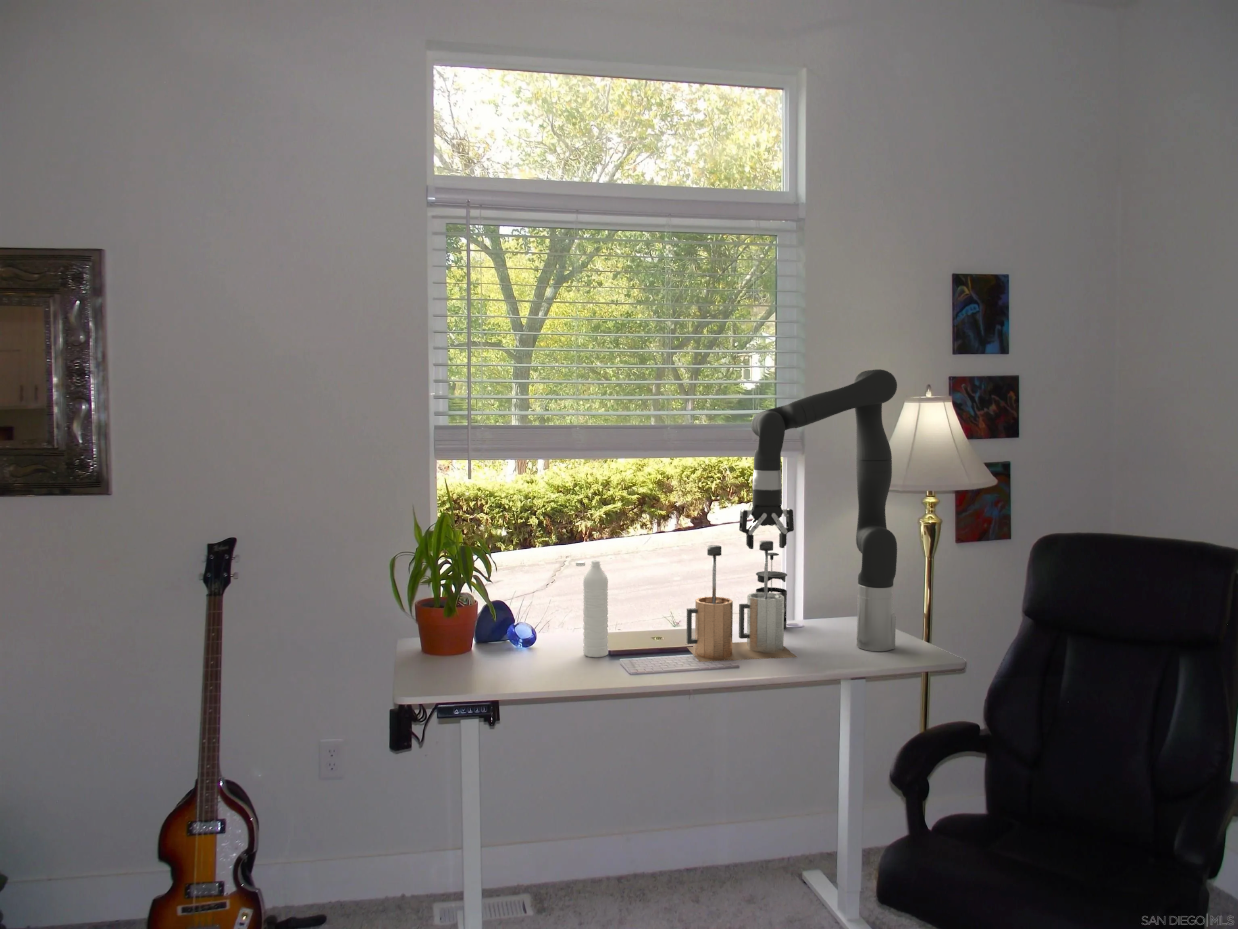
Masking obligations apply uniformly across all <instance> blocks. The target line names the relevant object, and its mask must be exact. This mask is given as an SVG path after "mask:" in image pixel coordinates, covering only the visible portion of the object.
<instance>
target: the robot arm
mask: <svg viewBox="0 0 1238 929" xmlns="http://www.w3.org/2000/svg"><path fill="white" fill-rule="evenodd" d="M897 389H898V382H897V379H896V377H895V376H894V375H893V373H892V372H890V371H888V370H885V369H871V370H863V371H861V372H860V373H859V374H857V375H856V377H855V379H854V380H853V382H852V383H850V384H848V385H845V386H843V387H839V388H837V389H832V390H828V391H823V392H819V393H816V394H812V395H809V396H806V397H802V398H801V399H798V400H795V401H792V402H790V403H788V404H785V405H782V406H781V405H780V406H776V407H773V408H772V407H771V408H769V409H767V410H766V409H765V410H762V411H760V412H758V413H756V415H754V417H753V418H752V420H751V423H750V427H751V431H752V432H753V434H754V435H756V436H757V437H758V444H757V446H758V447H757V448H756V449H755V450H754V456H753V474H752V507H751V509H744V508H741V510H740V513H739V527H738V528H739V529H738V530H739V532H741V533H744V534H746V538H745V540H746V542H745V545H746V547H748V549H750V550H754V545H755V544H754V533H755V531H756V530H757V529H758V528H759V527H760V526H762V527H766V526H769V527H771V526H772V527H773V526H775V527H776V529H778V531H779V532H780V533H779V535H778V536H779V538H778V539H779V540H778V546H779V548H780V549H785V547H786V546H787V544H788V543H787V540H788V538H787V536H788V534H789V533H791V532H792V533H793V532H794V530H795V527H794V526H795V524H794V510H793V509H792V508H788V507H787V508H786V509H783V508H782V486H783V482H782V480H783V479H782V478H783V477H782V471H781V470H782V466H781V465H782V456H781V455H782V449H783V445H784V439H785V434H786V433H785V431H787V430H791V429H797V428H798V429H799V428H802V427H805V426H808V425H812V424H814V423H816V422H820V421H822V420H824V419H828V418H830V417H832V416H835V415H838V414H841V413H843V412H847V411H850V410H853V409H854V412H855V421H856V422H855V424H856V427H855V428H856V429H855V430H856V432H855V433H856V437H855V438H856V439H855V440H856V444H855V445H856V454H855V455H856V456H855V457H856V460H855V462H856V485H857V487H856V488H857V489H856V491H857V502H858V508H857V509H858V510H857V525H856V533H855V544H856V547H857V549H858V551H859V552H860V554H861V570H860V572H859V573H858V575H857V617H856V618H857V621H856V622H857V624H856V628H857V630H856V647H857V648H859V649H861V650H865V651H869V652H870V651H871V652H888V651H891V650H896V627H897V626H896V625H897V624H896V623H897V622H896V621H897V614H895V613H894V608H893V607H894V581H895V580H894V579H895V577H896V576H897V562H898V561H897V560H898V558H897V557H898V544H897V538H896V537H895V534H894V533H893V532H892V531H891V530H889V529H888V528H887V518H886V504H887V499H888V495H889V493H890V487H891V483H892V478H893V476H892V475H893V457H892V451H891V450H892V449H891V445H890V442H889V439H888V437H887V434H886V432H885V428H884V424H883V413H882V412H883V410H882V409H883V404H884V403H887V402H889V401H890V400H891V399H893V398H894V396H895V394H896V393H897ZM750 516H752V517H753V518H752V520H751V522H750V523H749V526H748V527H747V525H748V519H749V518H750ZM782 516H784V517H785V525H784V524H783V522H782V521H781V520H780V519H781V517H782ZM785 526H786V527H785Z"/></svg>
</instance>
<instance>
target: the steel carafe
mask: <svg viewBox="0 0 1238 929" xmlns="http://www.w3.org/2000/svg"><path fill="white" fill-rule="evenodd" d="M776 593H777V592H772V593H771V592H769V593H768V595H767V597H770V598H776V599H757V598H758V597H764V592H758V593H756V592H751V593H749V594H747V600H746V601H747V602H746V603H738V638H739V639H743V640H744V639H746V642H747V648H748V649H749V650H752V651H755V652H762V653H775V652H779V651H782V650H783V646H784V641H785V640H784V639H785V638H784V637H785V636H784V633H785V631H784V630H785V629H784V596H783V595H781V594H776ZM745 609H746V610H747V612H746V614H747V618H746V620H747V621H746V622H747V623H746V632H745Z"/></svg>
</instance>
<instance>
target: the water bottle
mask: <svg viewBox="0 0 1238 929" xmlns="http://www.w3.org/2000/svg"><path fill="white" fill-rule="evenodd" d="M589 565H590V567H589V568H588V570H587V571H586V573H585V575H584V577H583V583H582V586H583V591H582V592H583V626H582V627H583V633H582V635H583V646H582V647H583V656H585V657H589V658H603V657H606V656H607V655H608V654H609V646H608V645H609V637H608V636H609V630H608V628H609V625H608V622H609V617H608V615H609V610H608V609H609V608H608V606H609V601H608V600H609V592H608V588H609V586H608V585H609V584H608V583H609V579H608V576H607V574H606V573H605V571H604V570H603V568H602V566H601V565H602V564H601V561H600V560H591V561H590V564H589ZM575 566H576V567H586V561H583V560H580V561H579V560H578V561H575Z"/></svg>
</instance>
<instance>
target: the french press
mask: <svg viewBox="0 0 1238 929" xmlns="http://www.w3.org/2000/svg"><path fill="white" fill-rule="evenodd" d="M775 556H776V557H777V556H780V554H779V553H778V552H768V557H769V560H770V570H768V582H770V586H768V593H776V594H781V595H783V596H784V630H786V629H787V628H788V627H787V625H788V624H787V622H788V621H787V605H788V604H787V599H788V590H786V588H785V589H784V588H781V587H773V579H774V580H775V579H777V580H781V581H782V582H783V583H786V577H787V576H788V574H787V573H786V572H784V571H783V572H782V571H777V570H773V560H774V557H775ZM755 575H756V576H757V582H758V583H761V584H764V571H763V570H762V571H758V572H756V573H755ZM758 592H764V586H761V587H758V588H756V589H755V593H758Z"/></svg>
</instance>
